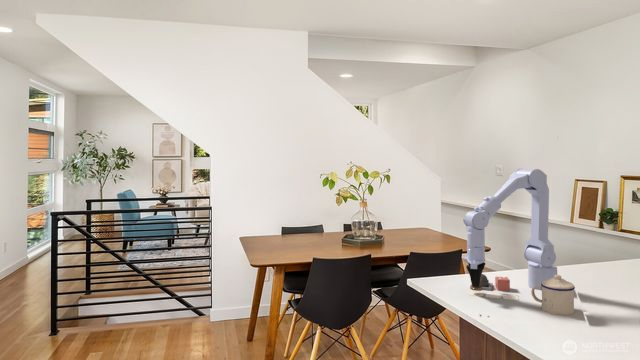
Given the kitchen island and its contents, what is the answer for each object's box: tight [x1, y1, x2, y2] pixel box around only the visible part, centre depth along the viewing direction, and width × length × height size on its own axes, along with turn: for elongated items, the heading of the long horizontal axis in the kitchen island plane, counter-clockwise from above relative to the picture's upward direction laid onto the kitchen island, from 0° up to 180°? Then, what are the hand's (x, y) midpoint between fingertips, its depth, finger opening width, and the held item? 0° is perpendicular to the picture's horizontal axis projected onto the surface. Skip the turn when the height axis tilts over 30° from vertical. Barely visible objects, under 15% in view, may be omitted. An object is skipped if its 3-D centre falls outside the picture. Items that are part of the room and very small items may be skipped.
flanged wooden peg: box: [469, 272, 484, 292], centre depth 149 cm, size 4×4×6 cm
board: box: [468, 282, 519, 301], centre depth 151 cm, size 18×18×2 cm
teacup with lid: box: [531, 274, 576, 316], centre depth 133 cm, size 12×9×12 cm
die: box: [494, 276, 511, 292], centre depth 154 cm, size 4×4×4 cm
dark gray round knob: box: [481, 273, 490, 287], centre depth 157 cm, size 5×5×5 cm
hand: (476, 284), depth 150 cm, fingers closed on flanged wooden peg, 3 cm apart
